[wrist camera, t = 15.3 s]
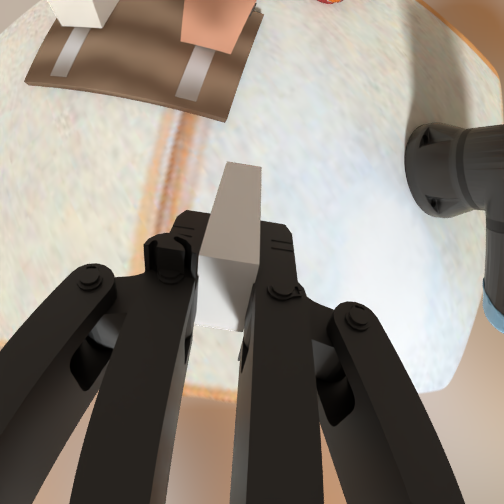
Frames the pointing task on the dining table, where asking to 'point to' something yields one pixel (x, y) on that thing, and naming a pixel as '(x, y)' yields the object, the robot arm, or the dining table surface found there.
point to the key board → (145, 59)
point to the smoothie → (330, 1)
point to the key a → (83, 12)
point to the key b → (214, 22)
